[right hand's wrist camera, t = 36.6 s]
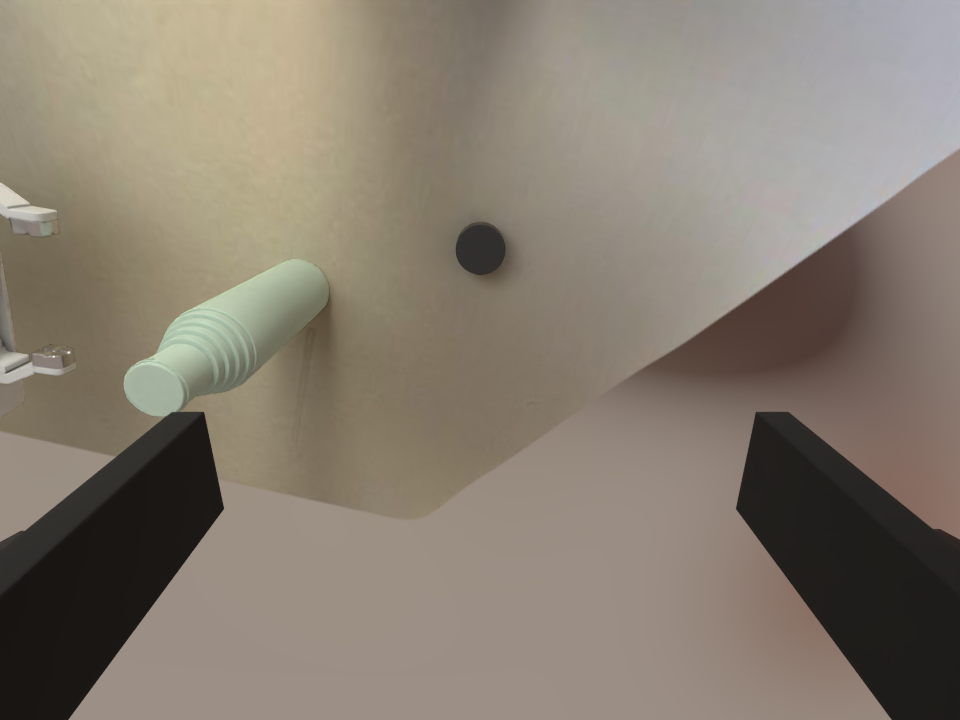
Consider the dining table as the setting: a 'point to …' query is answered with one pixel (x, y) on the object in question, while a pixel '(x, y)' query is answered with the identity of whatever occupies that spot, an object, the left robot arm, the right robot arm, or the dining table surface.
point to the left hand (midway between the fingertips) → (61, 296)
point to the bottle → (227, 338)
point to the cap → (480, 248)
